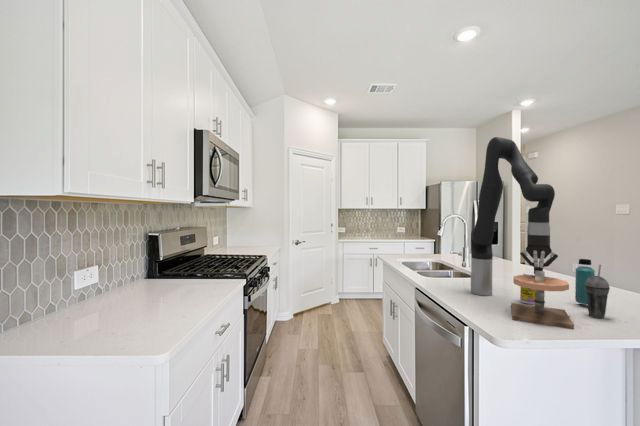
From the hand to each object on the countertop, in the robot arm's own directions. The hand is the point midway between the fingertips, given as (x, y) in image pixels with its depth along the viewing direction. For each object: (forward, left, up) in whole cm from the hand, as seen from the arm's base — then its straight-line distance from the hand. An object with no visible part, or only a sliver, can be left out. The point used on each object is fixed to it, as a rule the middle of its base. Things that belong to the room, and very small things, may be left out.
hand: (538, 276), depth 125 cm
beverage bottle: (+18, +18, -14) cm, 29 cm away
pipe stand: (0, -7, -14) cm, 16 cm away
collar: (0, -7, -2) cm, 7 cm away
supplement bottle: (-2, +12, -14) cm, 19 cm away
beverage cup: (+19, +4, -14) cm, 24 cm away
